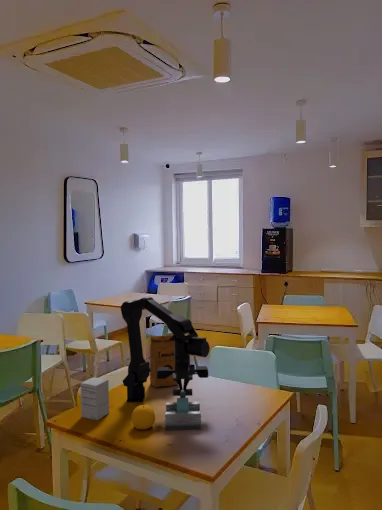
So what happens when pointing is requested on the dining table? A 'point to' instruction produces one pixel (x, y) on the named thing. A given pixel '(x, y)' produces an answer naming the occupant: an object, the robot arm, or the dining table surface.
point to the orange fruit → (143, 417)
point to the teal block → (182, 404)
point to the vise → (183, 420)
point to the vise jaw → (182, 393)
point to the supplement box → (94, 398)
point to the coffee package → (162, 359)
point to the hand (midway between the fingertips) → (183, 395)
